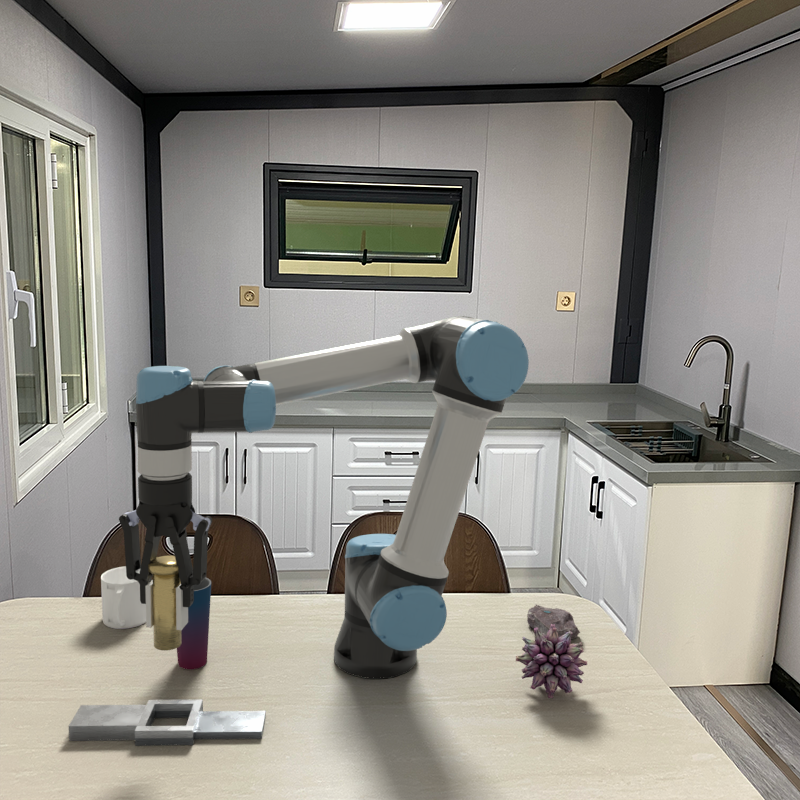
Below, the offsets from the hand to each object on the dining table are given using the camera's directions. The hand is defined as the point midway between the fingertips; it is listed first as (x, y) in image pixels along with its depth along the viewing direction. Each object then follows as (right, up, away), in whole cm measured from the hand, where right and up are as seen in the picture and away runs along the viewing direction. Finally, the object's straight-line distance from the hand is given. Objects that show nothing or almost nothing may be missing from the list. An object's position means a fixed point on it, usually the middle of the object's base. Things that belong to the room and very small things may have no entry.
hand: (167, 624), depth 119 cm
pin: (0, -3, +1) cm, 3 cm away
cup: (-2, -14, +23) cm, 27 cm away
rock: (+65, -13, +39) cm, 77 cm away
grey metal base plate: (0, -17, +3) cm, 17 cm away
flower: (+60, -17, +17) cm, 65 cm away
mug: (-20, -10, +38) cm, 44 cm away
